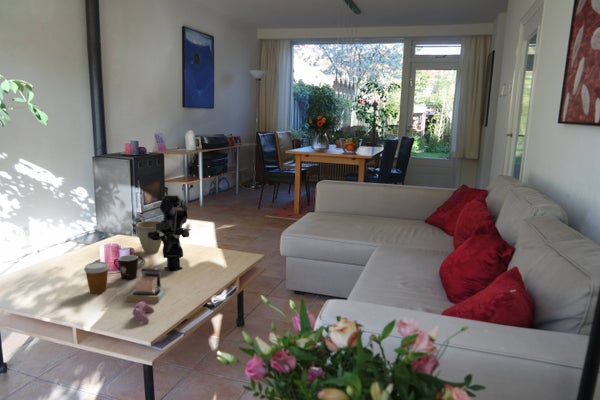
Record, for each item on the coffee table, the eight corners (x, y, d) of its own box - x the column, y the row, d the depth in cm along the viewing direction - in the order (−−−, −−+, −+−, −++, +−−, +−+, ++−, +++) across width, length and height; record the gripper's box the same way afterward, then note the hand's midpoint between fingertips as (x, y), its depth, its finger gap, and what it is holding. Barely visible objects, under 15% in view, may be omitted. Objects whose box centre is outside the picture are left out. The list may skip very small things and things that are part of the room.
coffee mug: (142, 278, 203) (141, 258, 201) (124, 283, 197) (123, 262, 195) (130, 272, 211) (129, 252, 209) (112, 276, 205) (111, 256, 203)
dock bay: (135, 294, 185) (134, 287, 185) (165, 295, 185) (164, 288, 185) (126, 303, 177) (126, 296, 176) (158, 304, 176) (158, 297, 176)
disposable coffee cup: (98, 297, 181) (96, 270, 179) (80, 294, 184) (78, 266, 182) (115, 289, 190) (113, 263, 187) (98, 286, 193) (96, 260, 191)
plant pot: (132, 254, 237) (130, 226, 235) (145, 247, 252) (144, 220, 249) (157, 256, 235) (156, 228, 232) (170, 249, 250) (169, 221, 247)
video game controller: (144, 316, 169) (135, 301, 168) (155, 311, 169) (146, 295, 168) (138, 328, 159) (128, 312, 158) (149, 322, 159) (140, 306, 158)
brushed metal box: (142, 291, 188) (142, 267, 186) (161, 291, 188) (160, 268, 186) (134, 299, 179) (133, 275, 177) (154, 300, 179) (153, 275, 177)
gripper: (142, 216, 202) (138, 249, 196) (179, 212, 198) (176, 245, 192) (155, 224, 212) (152, 255, 206) (190, 220, 208) (188, 251, 202)
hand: (166, 252), depth 201 cm, fingers closed
